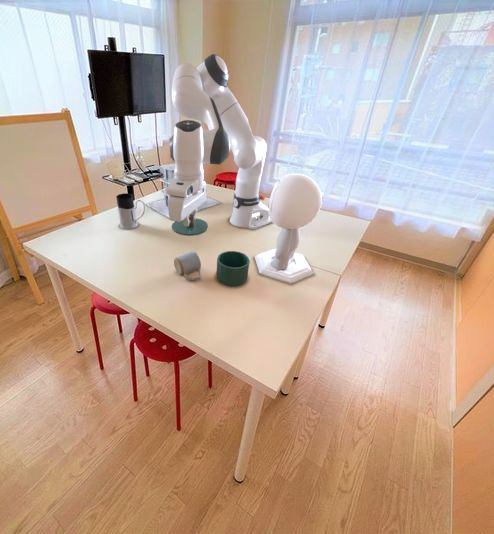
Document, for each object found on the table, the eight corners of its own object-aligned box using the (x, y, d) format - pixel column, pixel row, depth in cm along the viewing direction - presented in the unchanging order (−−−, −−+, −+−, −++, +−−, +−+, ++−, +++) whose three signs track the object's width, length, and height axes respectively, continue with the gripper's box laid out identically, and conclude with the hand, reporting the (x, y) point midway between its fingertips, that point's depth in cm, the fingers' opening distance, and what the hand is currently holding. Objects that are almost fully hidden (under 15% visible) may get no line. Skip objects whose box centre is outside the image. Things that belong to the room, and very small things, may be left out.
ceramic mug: (172, 269, 104) (172, 253, 100) (191, 263, 108) (191, 246, 103) (186, 284, 97) (186, 267, 92) (205, 277, 100) (206, 260, 96)
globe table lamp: (262, 246, 118) (276, 163, 98) (318, 261, 109) (345, 172, 89) (245, 269, 104) (257, 178, 84) (307, 289, 95) (337, 190, 75)
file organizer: (145, 204, 157) (141, 165, 145) (193, 191, 176) (192, 155, 163) (171, 219, 141) (169, 177, 129) (220, 203, 159) (222, 164, 147)
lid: (198, 218, 98) (198, 206, 96) (214, 232, 89) (214, 219, 87) (166, 224, 94) (165, 212, 92) (179, 240, 85) (179, 227, 83)
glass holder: (125, 220, 140) (120, 192, 131) (150, 223, 137) (147, 194, 128) (116, 228, 133) (111, 198, 124) (143, 231, 130) (139, 201, 121)
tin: (236, 265, 106) (238, 248, 102) (253, 281, 98) (255, 263, 94) (211, 273, 103) (211, 255, 98) (226, 290, 94) (227, 271, 90)
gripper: (194, 171, 91) (194, 210, 99) (163, 190, 76) (166, 234, 84) (211, 173, 89) (210, 213, 97) (183, 193, 74) (184, 238, 82)
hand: (189, 223), depth 91 cm, fingers closed on lid, 2 cm apart
